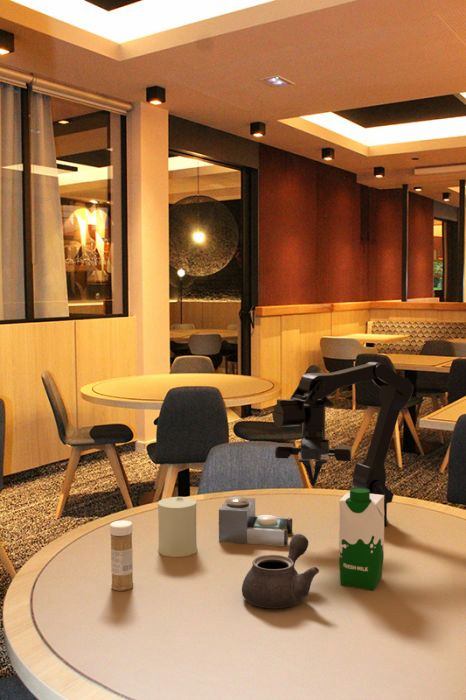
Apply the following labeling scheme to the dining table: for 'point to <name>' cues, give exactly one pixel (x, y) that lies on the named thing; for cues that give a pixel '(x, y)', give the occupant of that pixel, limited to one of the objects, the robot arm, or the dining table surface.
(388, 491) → the robot arm
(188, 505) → the can
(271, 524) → the teal cube with ball
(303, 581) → the teapot
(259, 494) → the dining table surface
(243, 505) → the motor mount
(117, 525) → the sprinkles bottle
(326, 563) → the dining table surface
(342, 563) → the milk carton
